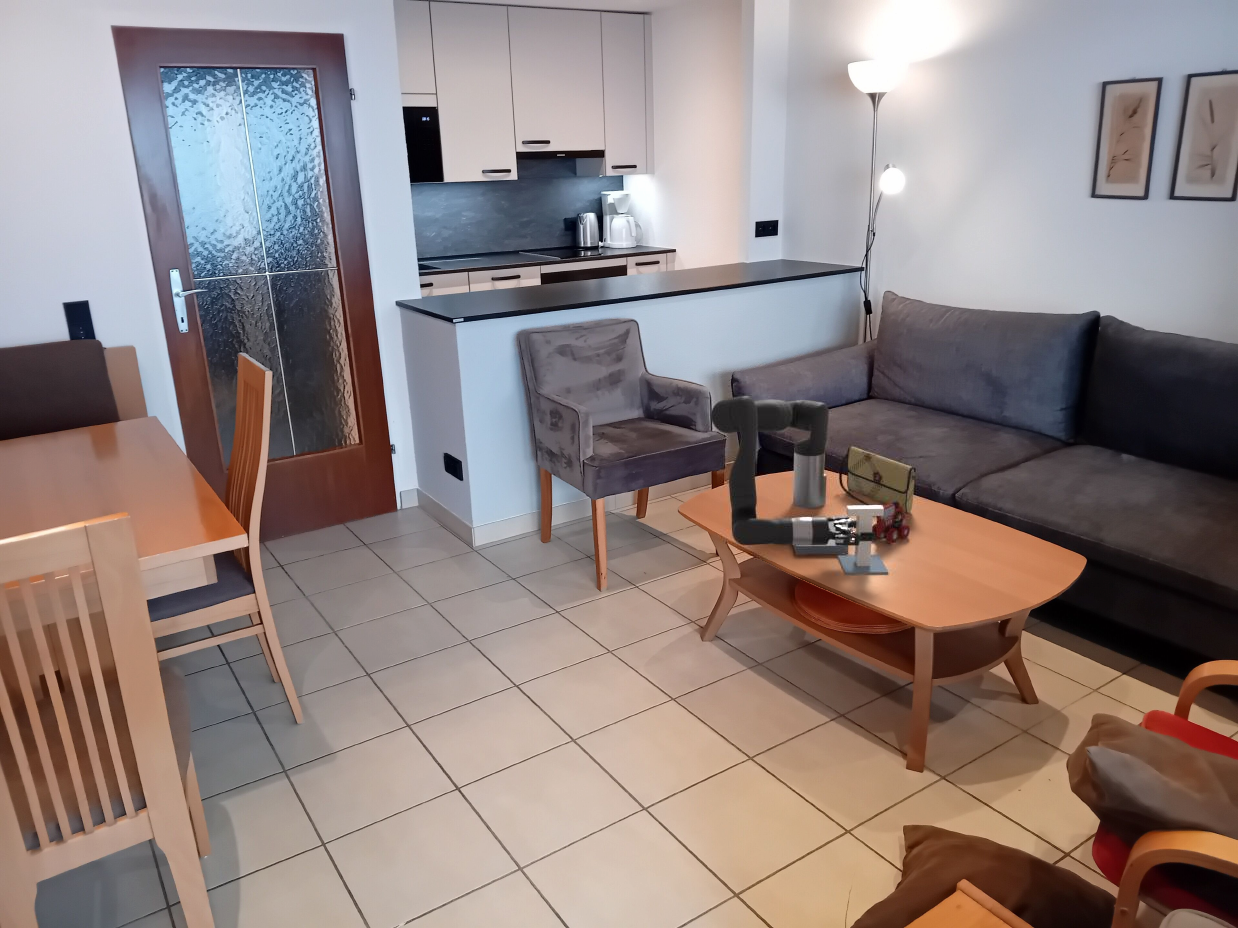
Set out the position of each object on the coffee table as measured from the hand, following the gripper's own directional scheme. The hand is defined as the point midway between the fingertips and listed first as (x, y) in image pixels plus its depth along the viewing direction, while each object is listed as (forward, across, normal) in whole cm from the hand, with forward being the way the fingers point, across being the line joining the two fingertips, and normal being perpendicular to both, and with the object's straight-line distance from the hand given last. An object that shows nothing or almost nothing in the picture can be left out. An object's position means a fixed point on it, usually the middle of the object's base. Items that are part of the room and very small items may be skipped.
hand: (871, 530), depth 230 cm
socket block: (-11, +14, +10) cm, 21 cm away
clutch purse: (+11, +46, +10) cm, 48 cm away
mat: (-2, 0, +10) cm, 10 cm away
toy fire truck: (+10, +18, +10) cm, 23 cm away
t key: (-2, 0, +10) cm, 10 cm away
